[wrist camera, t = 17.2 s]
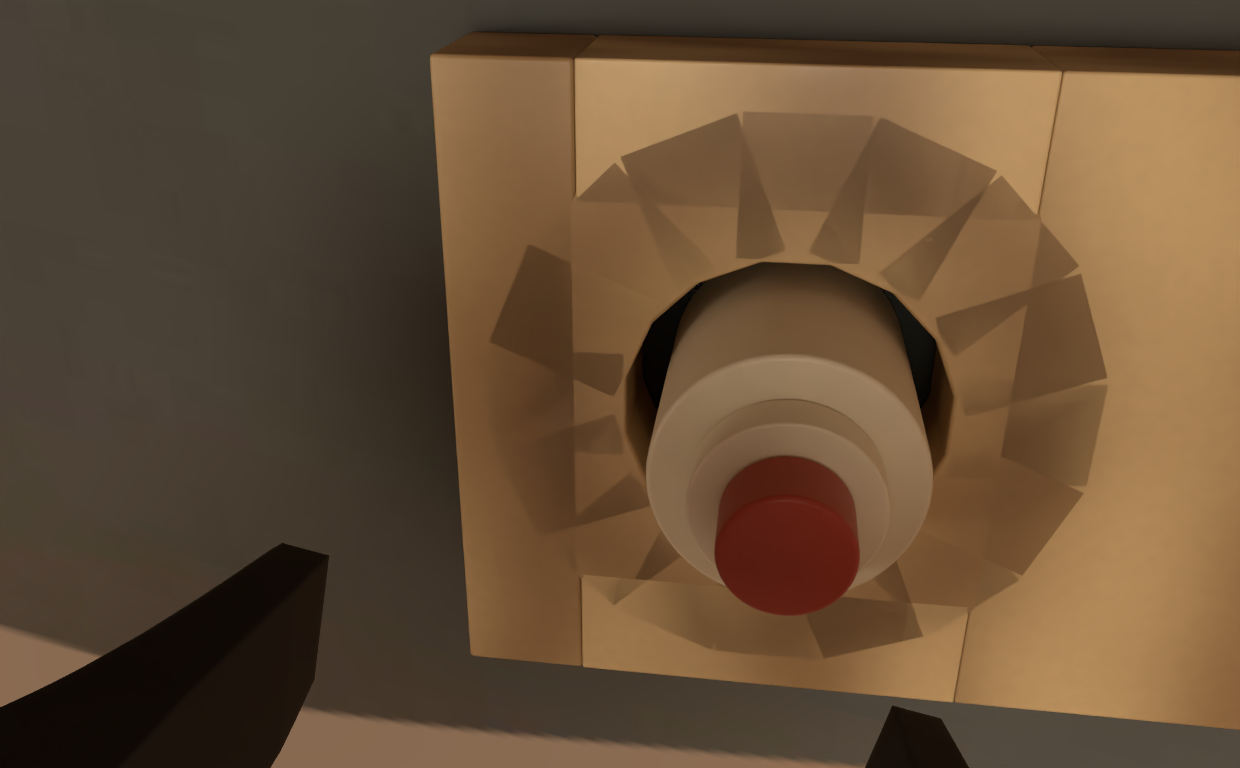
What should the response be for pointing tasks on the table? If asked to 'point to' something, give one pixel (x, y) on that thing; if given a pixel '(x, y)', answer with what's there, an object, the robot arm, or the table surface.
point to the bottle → (789, 437)
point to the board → (931, 291)
